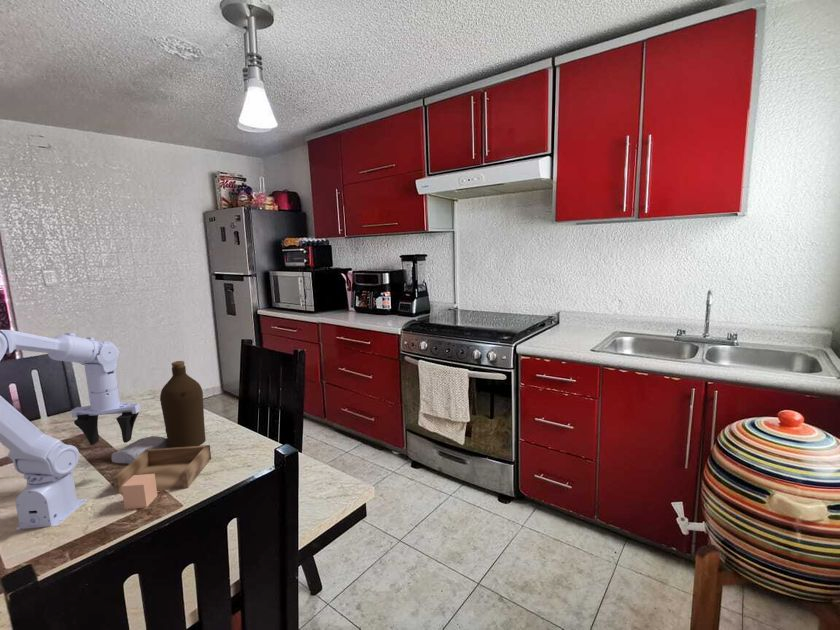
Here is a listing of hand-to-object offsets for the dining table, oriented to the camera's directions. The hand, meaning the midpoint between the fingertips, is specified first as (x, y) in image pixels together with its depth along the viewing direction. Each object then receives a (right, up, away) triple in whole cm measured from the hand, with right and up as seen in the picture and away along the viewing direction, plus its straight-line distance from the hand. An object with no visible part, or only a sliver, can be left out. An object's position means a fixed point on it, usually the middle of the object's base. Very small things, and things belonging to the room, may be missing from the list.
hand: (111, 442), depth 102 cm
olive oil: (+9, -7, +18) cm, 21 cm away
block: (+15, -11, -10) cm, 21 cm away
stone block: (-2, -8, +13) cm, 15 cm away
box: (+13, -9, +1) cm, 16 cm away
